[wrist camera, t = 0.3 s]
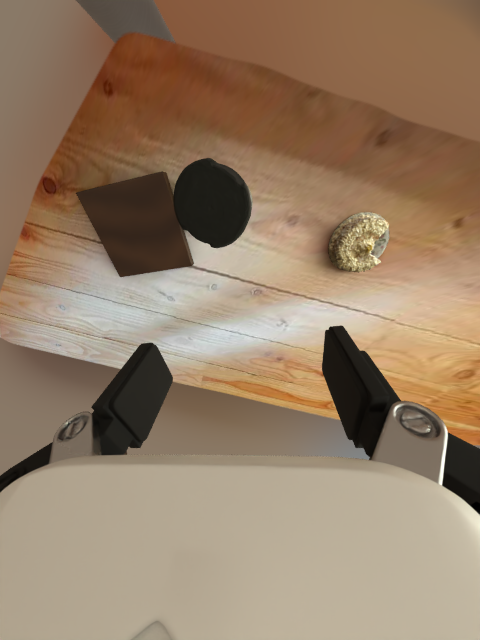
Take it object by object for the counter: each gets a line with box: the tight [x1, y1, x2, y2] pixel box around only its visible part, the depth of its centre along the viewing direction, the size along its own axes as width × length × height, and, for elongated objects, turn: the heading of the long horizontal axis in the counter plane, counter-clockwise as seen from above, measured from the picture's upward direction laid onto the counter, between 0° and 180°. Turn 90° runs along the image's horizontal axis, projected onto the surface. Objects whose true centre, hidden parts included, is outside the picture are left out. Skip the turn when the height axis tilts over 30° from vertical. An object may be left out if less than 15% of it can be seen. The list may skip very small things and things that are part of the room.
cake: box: [328, 212, 389, 272], centre depth 32 cm, size 10×10×5 cm
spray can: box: [173, 158, 252, 248], centre depth 24 cm, size 7×7×20 cm
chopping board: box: [76, 172, 194, 277], centre depth 35 cm, size 15×16×2 cm
